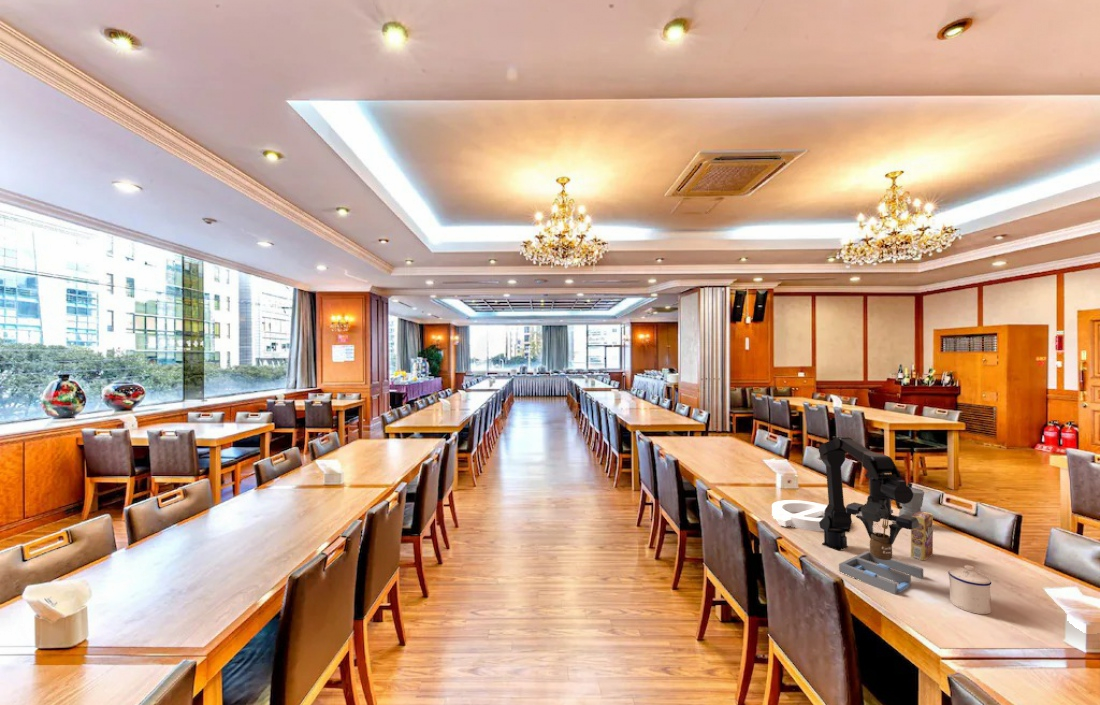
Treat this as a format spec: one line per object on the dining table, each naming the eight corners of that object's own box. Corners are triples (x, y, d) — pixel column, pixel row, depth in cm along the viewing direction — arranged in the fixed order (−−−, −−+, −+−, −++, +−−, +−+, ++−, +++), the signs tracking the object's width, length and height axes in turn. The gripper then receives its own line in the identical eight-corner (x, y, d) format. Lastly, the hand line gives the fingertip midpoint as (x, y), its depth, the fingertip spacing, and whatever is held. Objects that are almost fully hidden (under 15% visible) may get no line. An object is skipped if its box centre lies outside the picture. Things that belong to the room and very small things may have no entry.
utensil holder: (865, 554, 146) (865, 518, 146) (877, 551, 148) (876, 515, 148) (885, 562, 140) (884, 524, 140) (896, 558, 143) (896, 521, 143)
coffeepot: (911, 519, 196) (911, 479, 196) (934, 527, 186) (933, 485, 187) (884, 522, 192) (883, 481, 193) (905, 530, 183) (904, 487, 183)
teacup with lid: (1001, 616, 122) (1000, 574, 122) (964, 613, 123) (963, 572, 124) (967, 594, 134) (966, 555, 134) (934, 591, 135) (933, 554, 136)
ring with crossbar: (779, 528, 187) (778, 517, 187) (766, 507, 214) (766, 498, 214) (854, 536, 179) (854, 524, 179) (832, 513, 206) (831, 502, 206)
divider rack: (839, 572, 148) (839, 562, 148) (868, 558, 158) (868, 548, 158) (895, 594, 134) (895, 582, 134) (924, 577, 144) (923, 567, 144)
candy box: (925, 561, 155) (924, 518, 155) (910, 557, 159) (909, 515, 159) (934, 555, 160) (933, 513, 160) (919, 551, 164) (918, 510, 164)
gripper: (837, 490, 148) (838, 536, 148) (903, 506, 132) (904, 557, 132) (853, 485, 154) (854, 530, 154) (918, 499, 138) (920, 549, 138)
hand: (881, 541), depth 144 cm, fingers closed on utensil holder, 5 cm apart
